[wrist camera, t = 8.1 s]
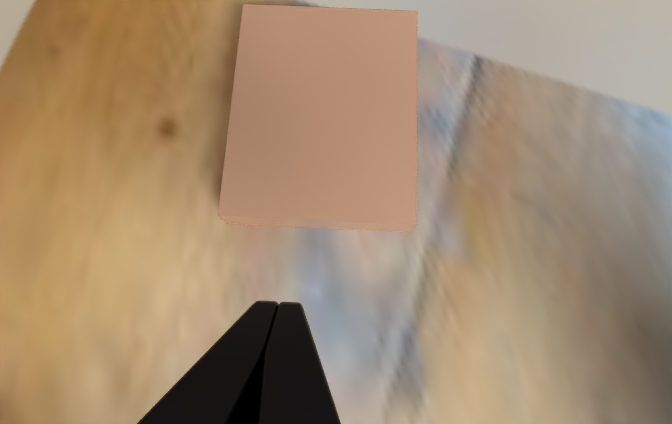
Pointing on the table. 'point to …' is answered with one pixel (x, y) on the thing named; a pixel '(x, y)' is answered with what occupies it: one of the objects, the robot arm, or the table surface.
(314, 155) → the tile
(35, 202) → the table surface
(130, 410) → the table surface
